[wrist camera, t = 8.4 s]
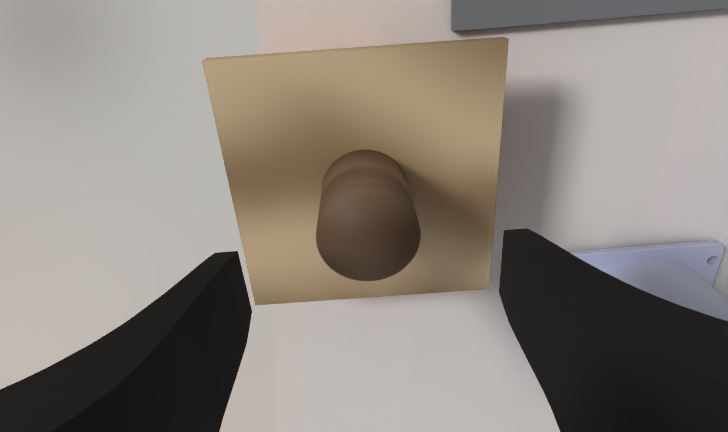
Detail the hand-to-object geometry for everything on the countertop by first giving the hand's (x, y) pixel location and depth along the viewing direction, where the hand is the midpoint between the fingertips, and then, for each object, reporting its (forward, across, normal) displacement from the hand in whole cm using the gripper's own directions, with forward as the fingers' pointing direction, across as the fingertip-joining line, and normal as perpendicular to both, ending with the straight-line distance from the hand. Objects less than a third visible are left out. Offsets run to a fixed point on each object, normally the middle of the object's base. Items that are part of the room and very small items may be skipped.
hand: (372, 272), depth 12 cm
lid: (+6, 0, 0) cm, 6 cm away
